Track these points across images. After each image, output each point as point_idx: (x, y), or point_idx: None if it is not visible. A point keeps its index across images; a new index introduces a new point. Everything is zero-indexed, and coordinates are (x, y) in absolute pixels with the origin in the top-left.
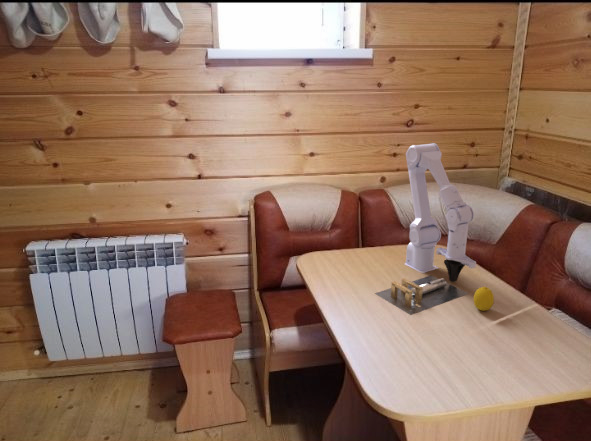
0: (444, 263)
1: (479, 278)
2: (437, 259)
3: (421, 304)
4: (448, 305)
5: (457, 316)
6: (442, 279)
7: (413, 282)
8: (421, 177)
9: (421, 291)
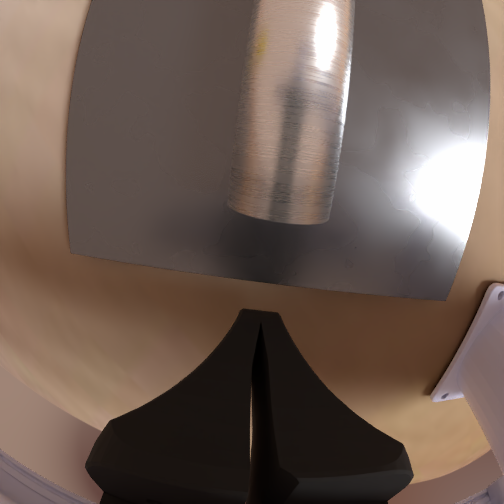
0: (388, 436)
1: None
2: (448, 437)
3: None
4: (77, 14)
5: (13, 3)
6: (273, 185)
7: (476, 86)
8: None
9: None
